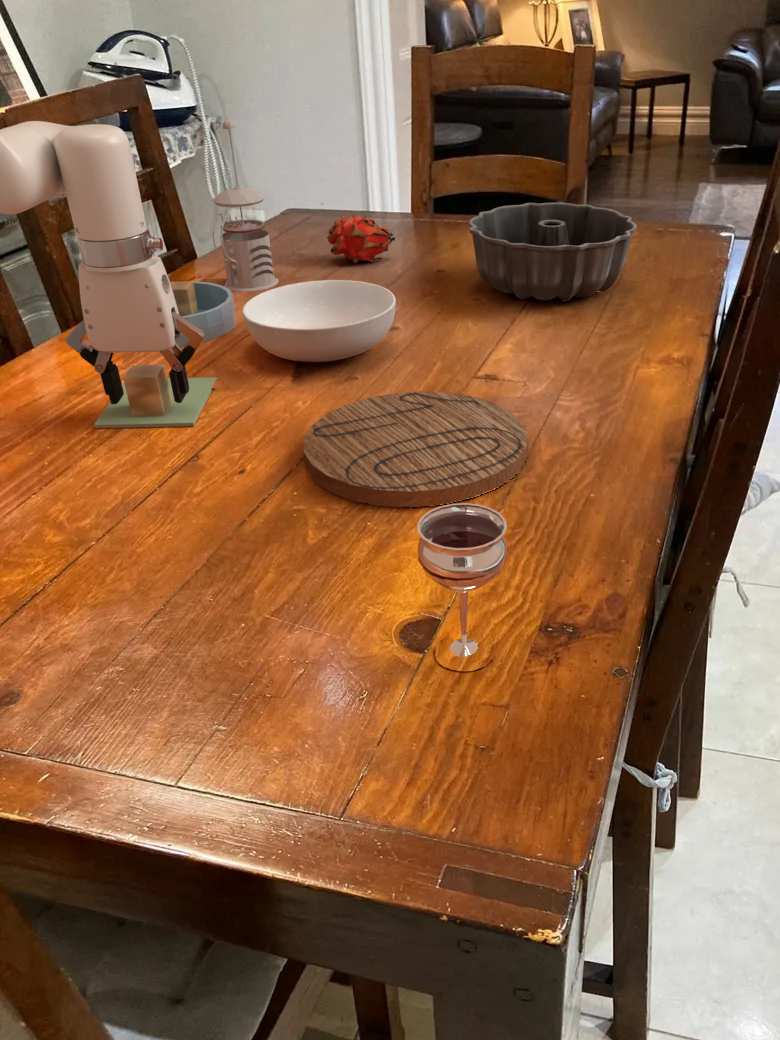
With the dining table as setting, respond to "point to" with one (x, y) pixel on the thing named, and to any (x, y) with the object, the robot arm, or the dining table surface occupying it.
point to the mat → (175, 415)
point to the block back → (185, 297)
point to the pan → (211, 312)
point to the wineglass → (462, 554)
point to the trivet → (415, 449)
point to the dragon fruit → (359, 238)
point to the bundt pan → (551, 249)
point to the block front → (148, 390)
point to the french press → (244, 239)
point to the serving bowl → (320, 319)
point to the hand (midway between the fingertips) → (149, 398)
